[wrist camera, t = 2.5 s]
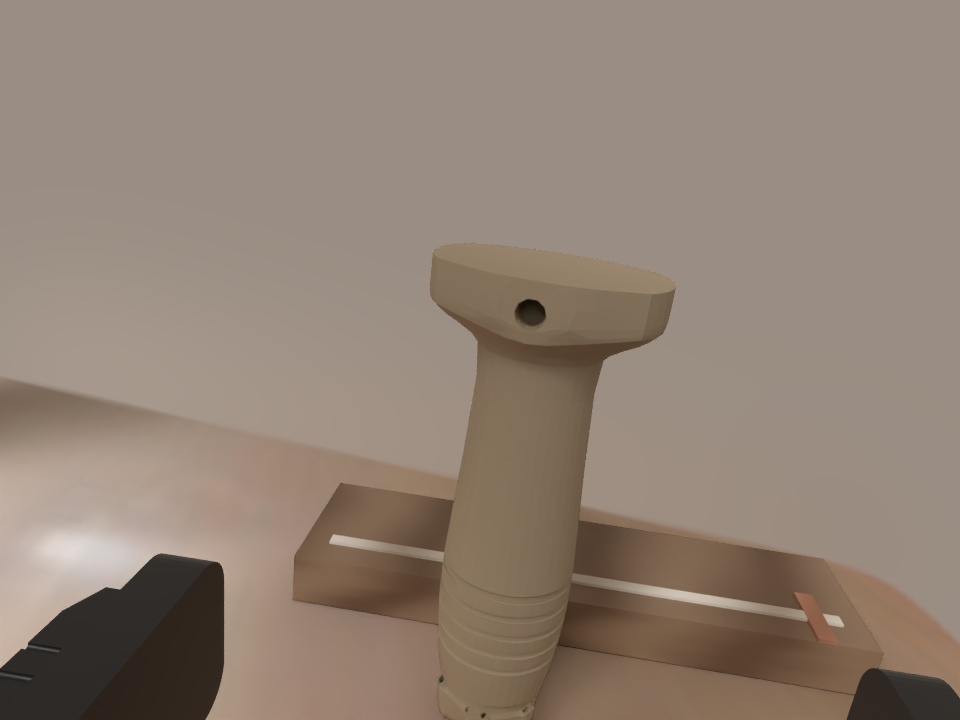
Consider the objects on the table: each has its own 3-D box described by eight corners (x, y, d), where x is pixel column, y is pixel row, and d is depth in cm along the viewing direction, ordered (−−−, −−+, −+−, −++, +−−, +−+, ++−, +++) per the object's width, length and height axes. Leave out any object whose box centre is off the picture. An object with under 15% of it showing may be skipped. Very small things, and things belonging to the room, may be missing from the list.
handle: (420, 637, 26) (464, 237, 22) (590, 688, 25) (677, 272, 20) (365, 735, 22) (407, 258, 17) (569, 805, 20) (674, 304, 16)
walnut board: (292, 599, 27) (294, 552, 27) (338, 520, 33) (340, 480, 32) (868, 696, 26) (884, 649, 25) (811, 596, 32) (824, 556, 31)
